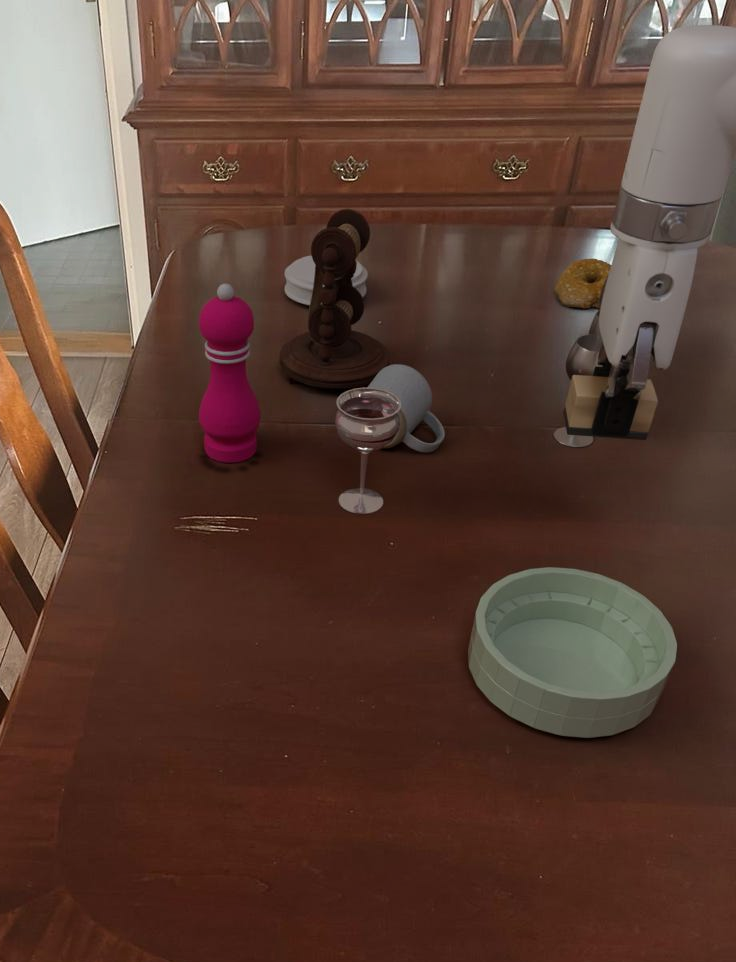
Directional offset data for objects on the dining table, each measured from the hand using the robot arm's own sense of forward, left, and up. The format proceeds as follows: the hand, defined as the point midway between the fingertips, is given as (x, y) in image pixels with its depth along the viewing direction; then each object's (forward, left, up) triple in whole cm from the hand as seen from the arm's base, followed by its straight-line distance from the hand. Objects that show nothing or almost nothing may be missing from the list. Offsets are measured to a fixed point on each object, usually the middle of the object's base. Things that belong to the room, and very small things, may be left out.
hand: (606, 419), depth 85 cm
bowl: (+3, +18, -15) cm, 24 cm away
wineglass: (+22, -7, -16) cm, 28 cm away
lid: (+30, -62, -16) cm, 70 cm away
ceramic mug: (+18, -21, -16) cm, 31 cm away
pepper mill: (+38, -16, -16) cm, 44 cm away
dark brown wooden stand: (+27, -37, -16) cm, 48 cm away
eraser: (0, 0, -1) cm, 1 cm away
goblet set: (-7, -34, -16) cm, 38 cm away
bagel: (-10, -65, -16) cm, 67 cm away
